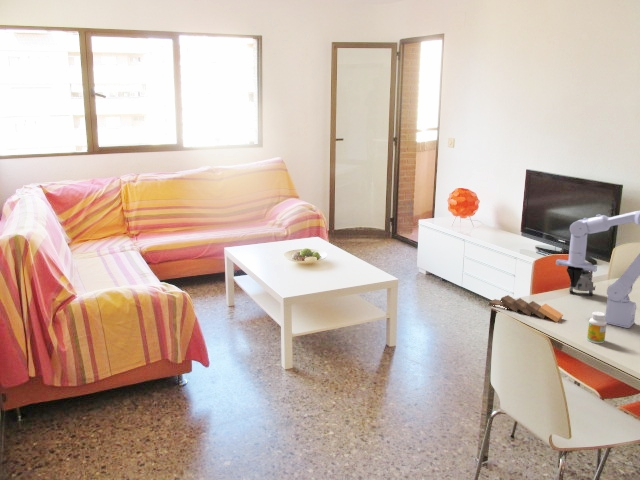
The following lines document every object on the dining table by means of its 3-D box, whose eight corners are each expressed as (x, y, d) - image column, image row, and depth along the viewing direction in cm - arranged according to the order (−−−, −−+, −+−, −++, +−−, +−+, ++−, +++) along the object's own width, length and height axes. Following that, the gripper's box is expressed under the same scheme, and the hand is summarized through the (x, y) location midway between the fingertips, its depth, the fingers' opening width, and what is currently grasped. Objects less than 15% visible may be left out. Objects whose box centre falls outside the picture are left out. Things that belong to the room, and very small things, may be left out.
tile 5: (512, 303, 236) (495, 299, 241) (507, 306, 233) (489, 302, 238) (512, 307, 237) (494, 303, 242) (506, 310, 233) (488, 306, 238)
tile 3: (536, 308, 230) (520, 298, 234) (531, 312, 226) (514, 301, 230) (534, 312, 231) (518, 301, 235) (529, 315, 227) (512, 304, 231)
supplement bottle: (583, 338, 205) (586, 311, 203) (595, 336, 207) (598, 310, 205) (595, 344, 201) (598, 317, 198) (608, 342, 202) (611, 315, 200)
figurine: (570, 298, 248) (573, 263, 244) (569, 290, 258) (572, 256, 255) (594, 300, 244) (598, 265, 241) (592, 292, 255) (596, 258, 252)
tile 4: (524, 305, 233) (508, 295, 238) (517, 308, 230) (501, 297, 234) (522, 309, 234) (506, 298, 238) (516, 312, 231) (499, 301, 235)
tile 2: (550, 311, 227) (532, 300, 230) (545, 315, 223) (527, 304, 227) (548, 315, 227) (530, 304, 231) (543, 319, 224) (525, 308, 228)
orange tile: (563, 314, 224) (545, 303, 227) (558, 318, 220) (540, 306, 224) (561, 318, 224) (543, 307, 228) (556, 322, 221) (538, 310, 224)
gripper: (601, 252, 224) (597, 287, 227) (561, 246, 233) (558, 280, 236) (595, 256, 219) (591, 292, 222) (555, 250, 228) (551, 284, 231)
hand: (573, 286), depth 229 cm, fingers closed
